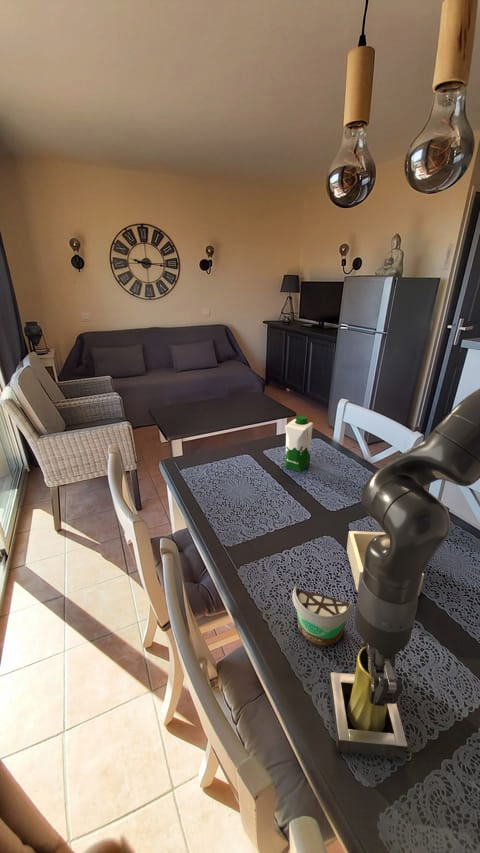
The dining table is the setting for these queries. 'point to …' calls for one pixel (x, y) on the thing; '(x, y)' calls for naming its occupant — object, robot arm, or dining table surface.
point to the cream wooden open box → (361, 553)
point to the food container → (320, 616)
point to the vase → (364, 699)
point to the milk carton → (298, 443)
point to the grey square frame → (358, 739)
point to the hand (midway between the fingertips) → (372, 680)
